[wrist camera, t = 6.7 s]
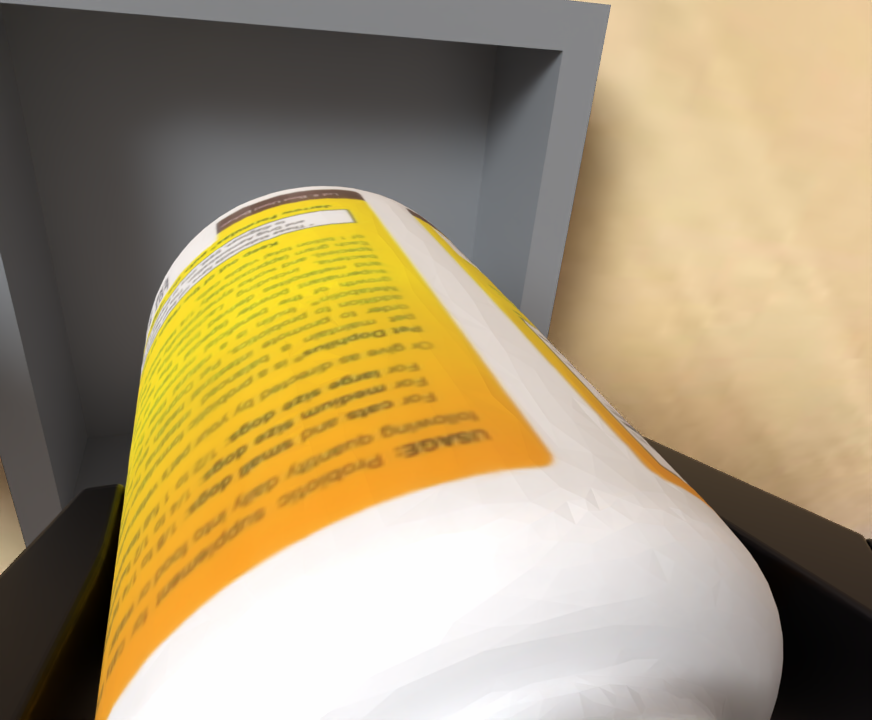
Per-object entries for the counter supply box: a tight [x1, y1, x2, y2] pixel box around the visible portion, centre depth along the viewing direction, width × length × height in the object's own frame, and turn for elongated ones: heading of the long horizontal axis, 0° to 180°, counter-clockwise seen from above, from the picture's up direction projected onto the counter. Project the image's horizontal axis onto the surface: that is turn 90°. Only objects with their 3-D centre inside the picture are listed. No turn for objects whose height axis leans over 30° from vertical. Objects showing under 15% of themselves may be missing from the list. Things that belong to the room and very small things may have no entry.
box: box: [0, 0, 611, 548], centre depth 18 cm, size 14×14×4 cm
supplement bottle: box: [95, 186, 783, 720], centre depth 7 cm, size 6×6×10 cm
